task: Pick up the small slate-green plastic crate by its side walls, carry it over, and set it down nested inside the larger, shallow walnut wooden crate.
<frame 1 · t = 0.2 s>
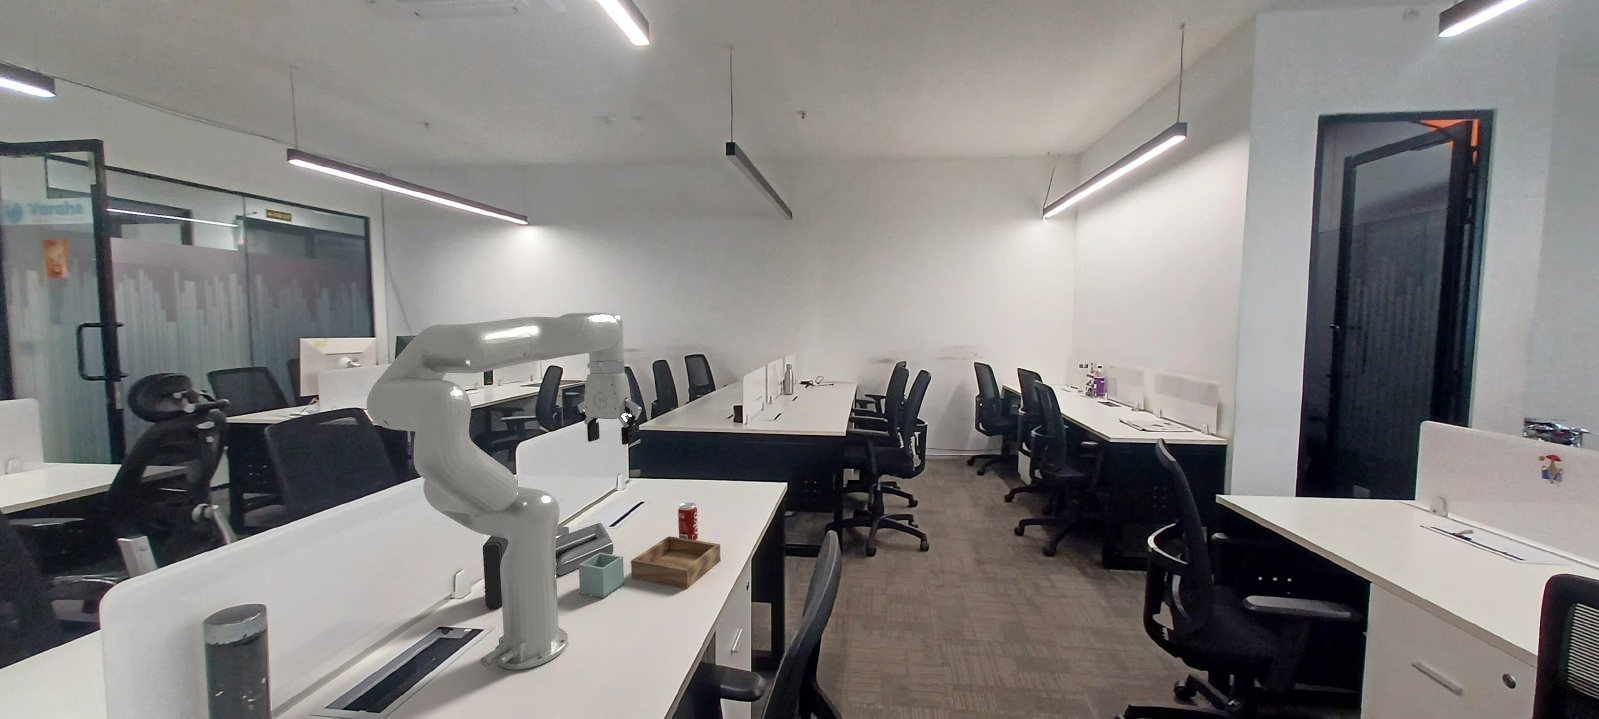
hand: (610, 441, 125), 36 cm above the table, tool pointing down, fingers open, 9 cm apart
walnut crate: (677, 569, 139), on the table
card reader: (499, 600, 124), on the table
emblem: (562, 556, 149), on the table
soda can: (688, 547, 153), on the table
small crate: (602, 589, 129), on the table
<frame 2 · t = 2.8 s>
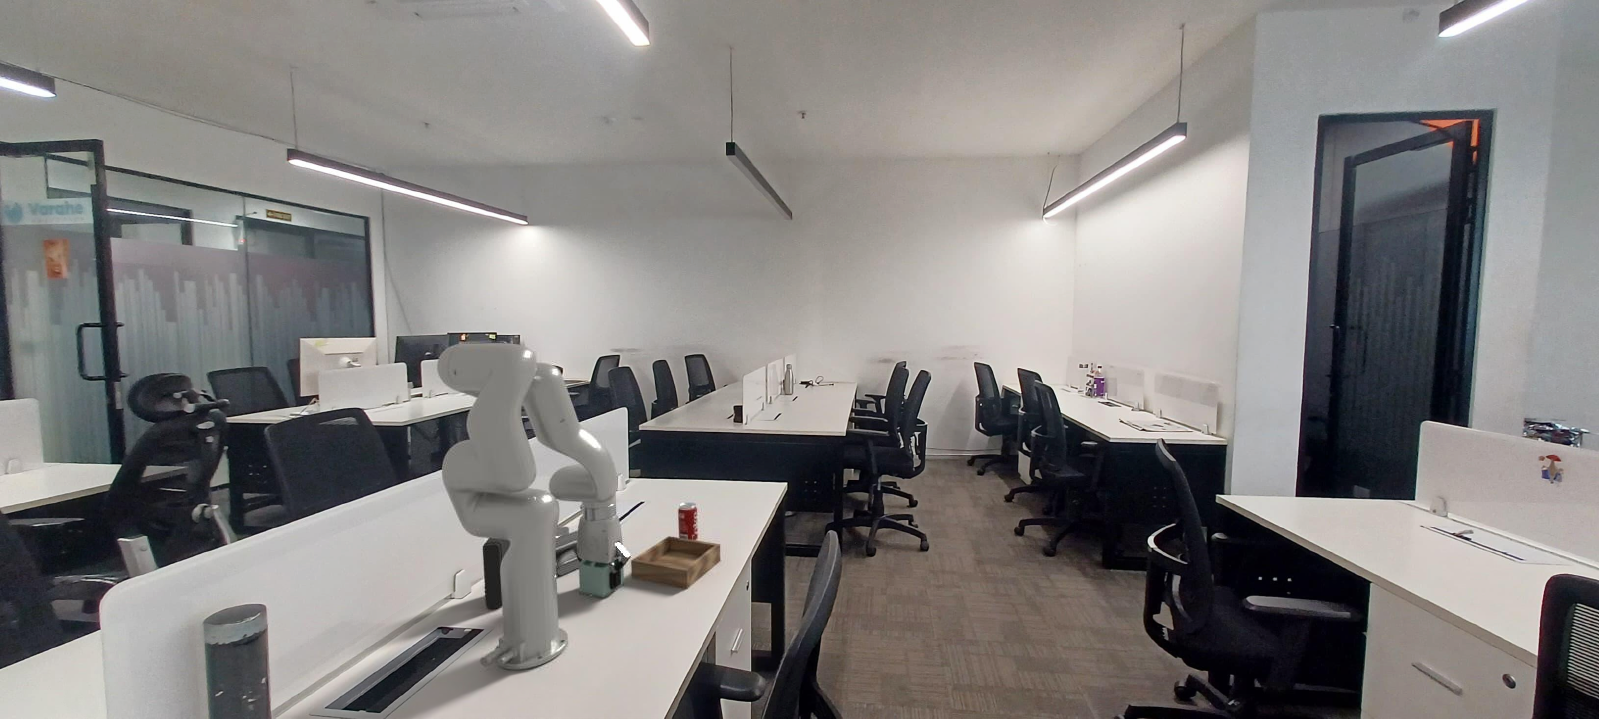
hand: (602, 583, 129), 1 cm above the table, tool pointing down, fingers closed on small crate, 7 cm apart
small crate: (602, 589, 129), on the table, touching gripper
everything else where it was.
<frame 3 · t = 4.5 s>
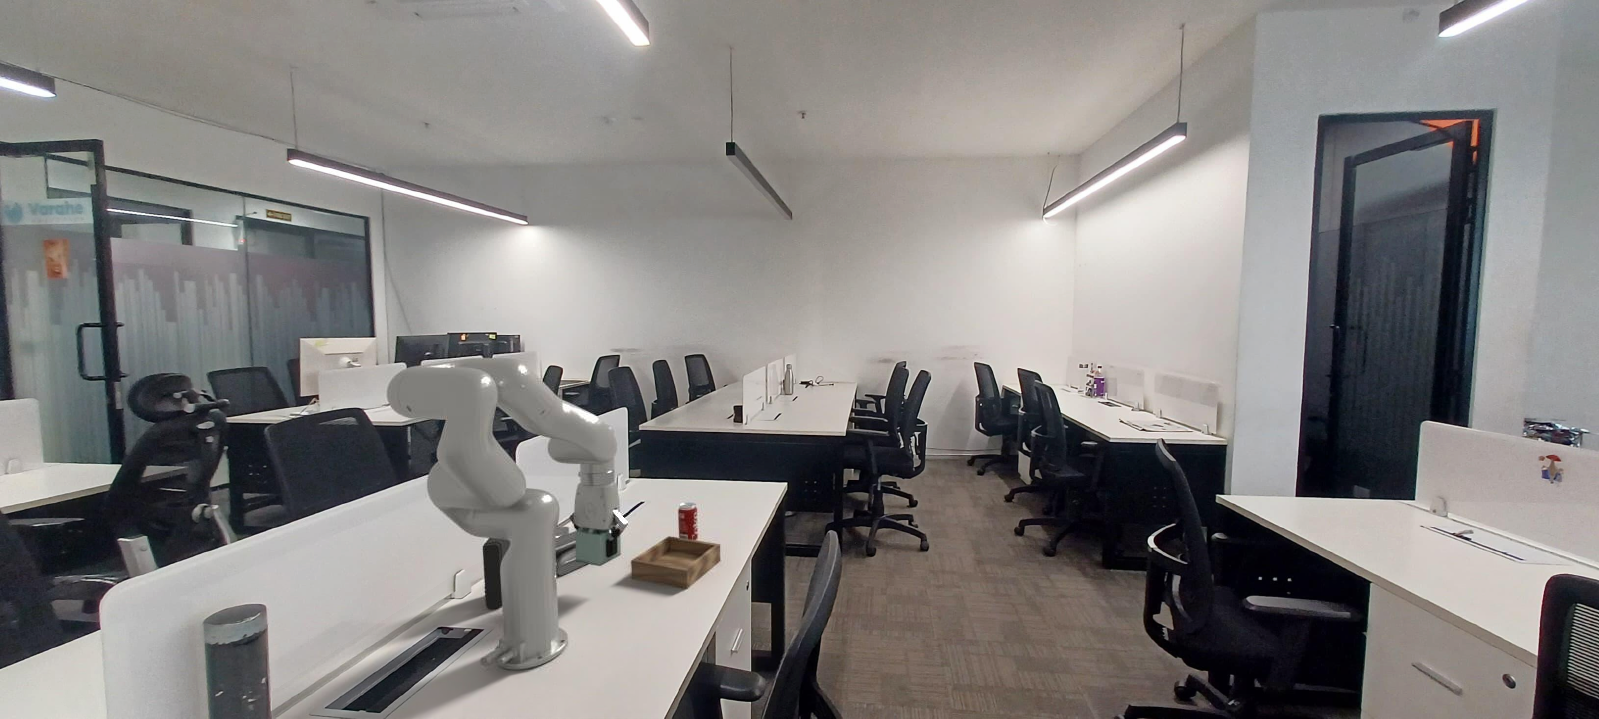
hand: (598, 552, 127), 9 cm above the table, tool pointing down, fingers closed on small crate, 7 cm apart
small crate: (598, 558, 127), point 8 cm above the table, touching gripper
everything else where it was.
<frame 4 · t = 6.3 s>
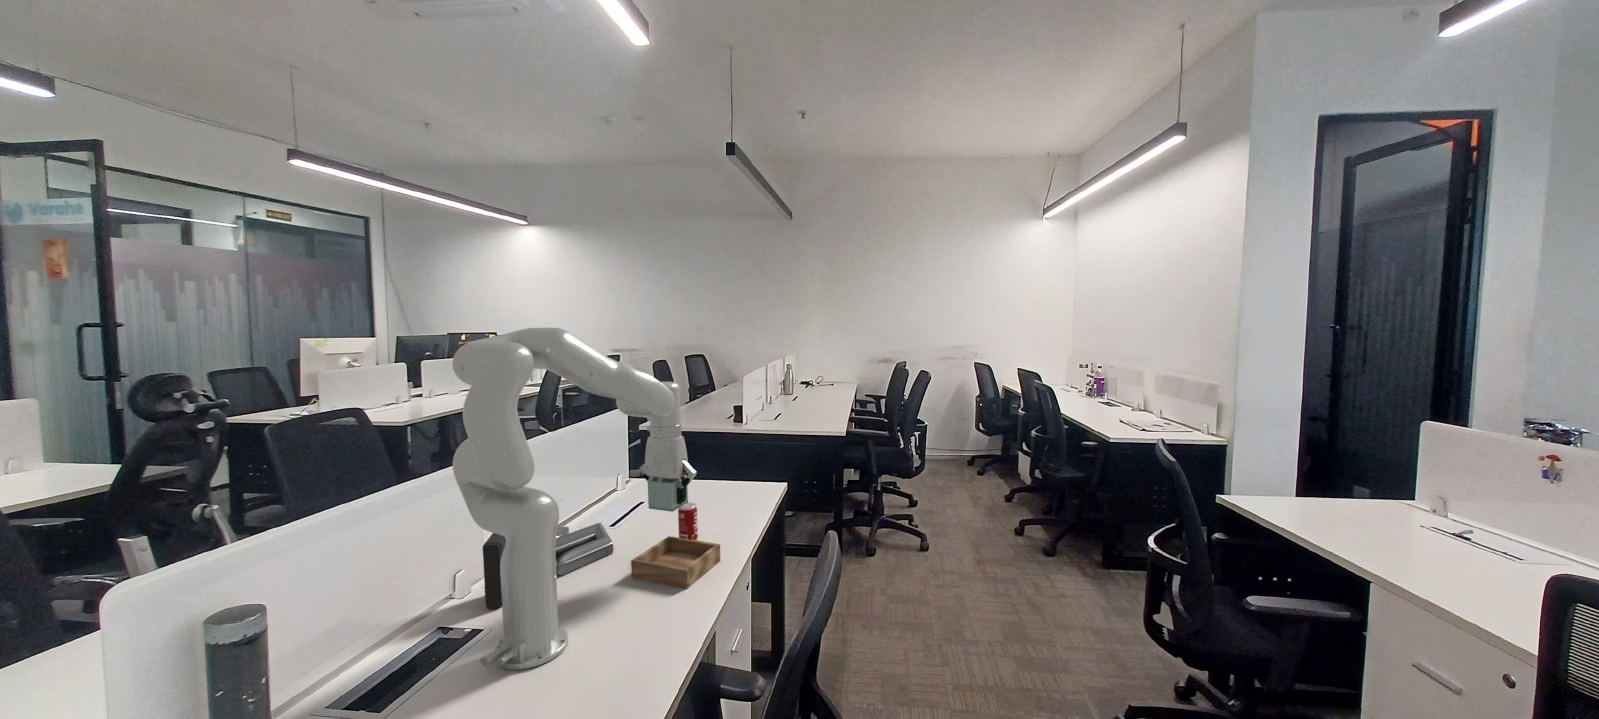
hand: (668, 500, 137), 18 cm above the table, tool pointing down, fingers closed on small crate, 7 cm apart
small crate: (668, 505, 137), point 17 cm above the table, touching gripper
everything else where it was.
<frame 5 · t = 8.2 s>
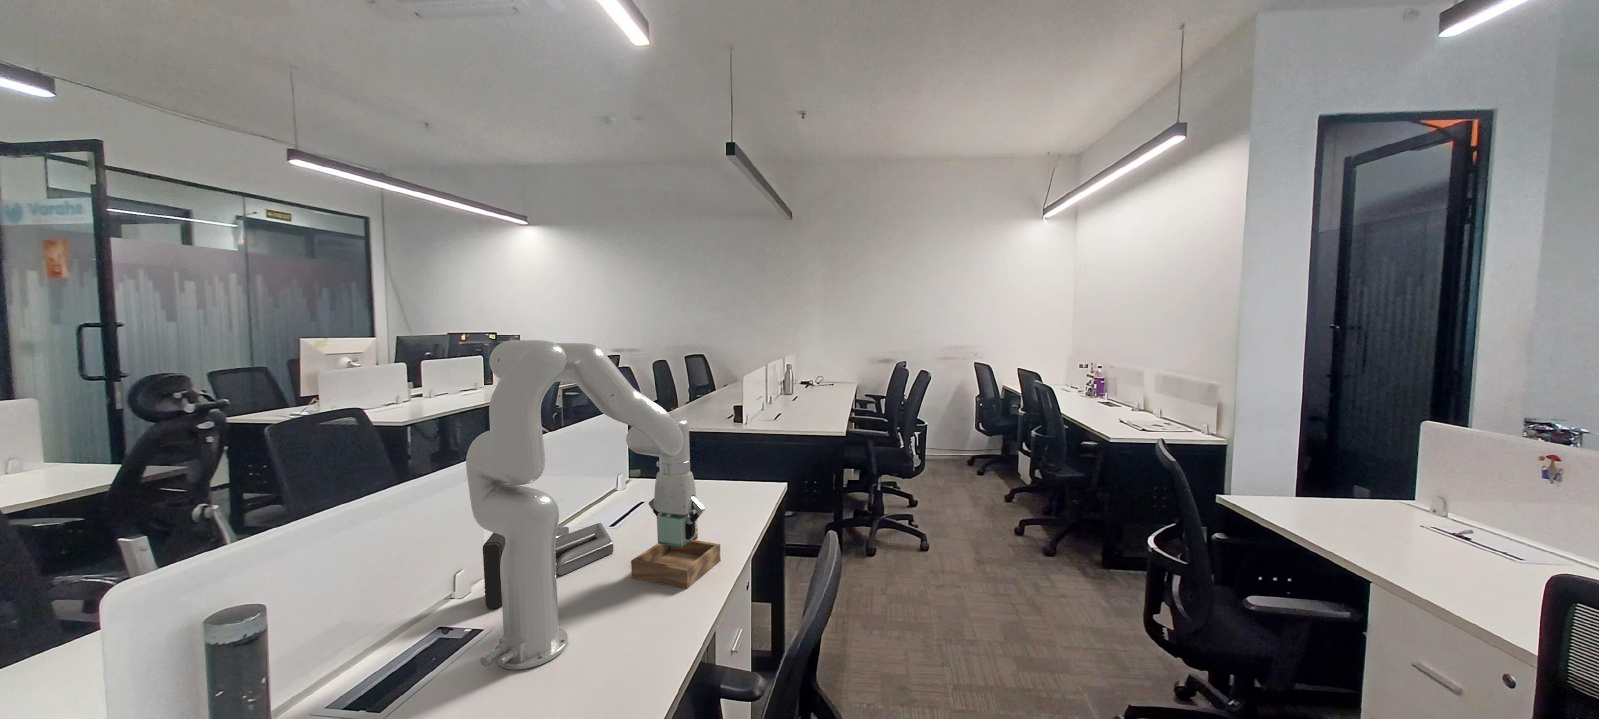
hand: (677, 535, 138), 9 cm above the table, tool pointing down, fingers closed on small crate, 7 cm apart
small crate: (677, 539, 139), point 8 cm above the table, touching gripper
everything else where it was.
when the fingers open (4 cm above the table, at t = 9.7 s): small crate drops 2 cm, resting on walnut crate.
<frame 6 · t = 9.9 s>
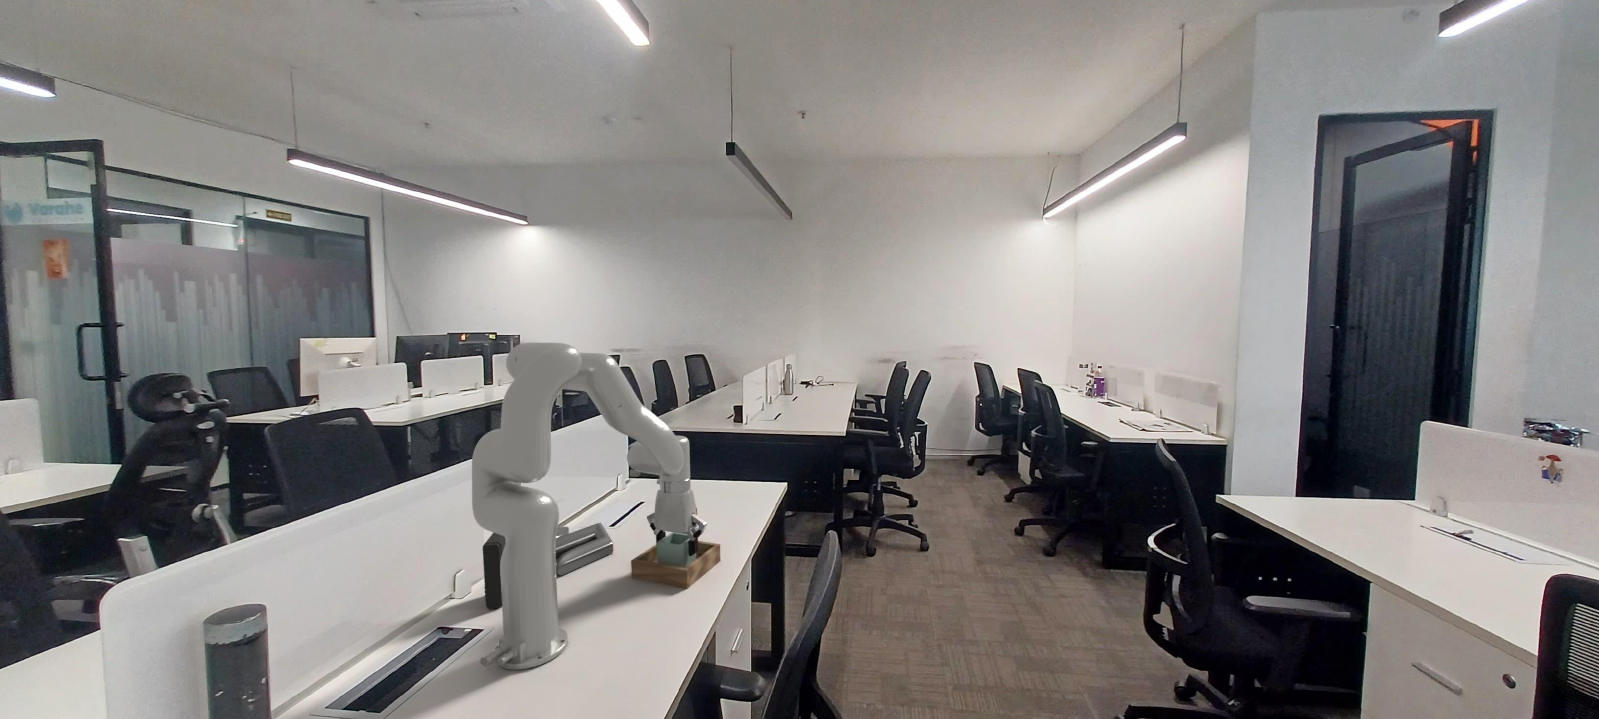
hand: (677, 551, 138), 5 cm above the table, tool pointing down, fingers open, 9 cm apart
small crate: (677, 565, 139), point 1 cm above the table, touching walnut crate
everything else where it was.
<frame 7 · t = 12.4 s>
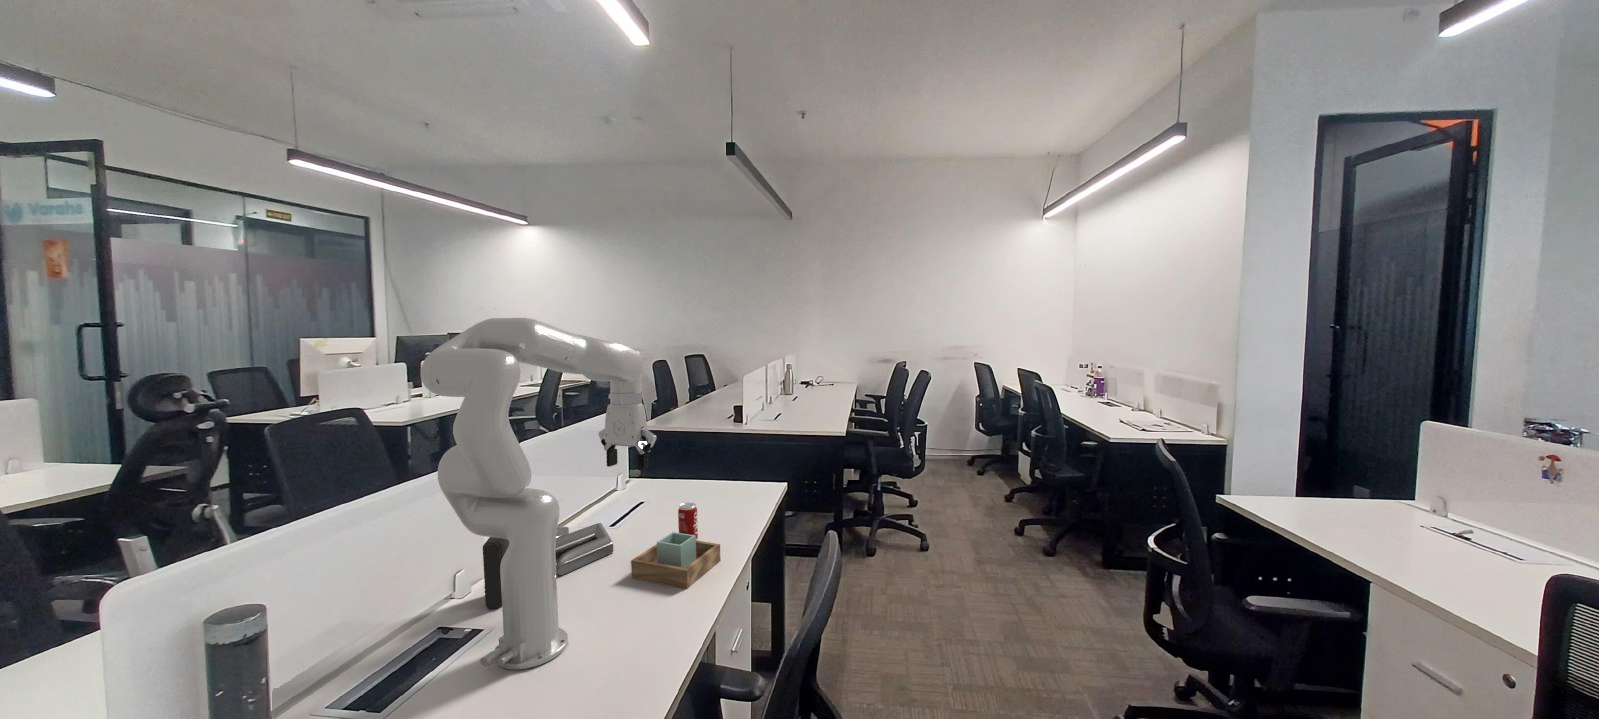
hand: (627, 467, 136), 27 cm above the table, tool pointing down, fingers open, 9 cm apart
nothing on the table moved.
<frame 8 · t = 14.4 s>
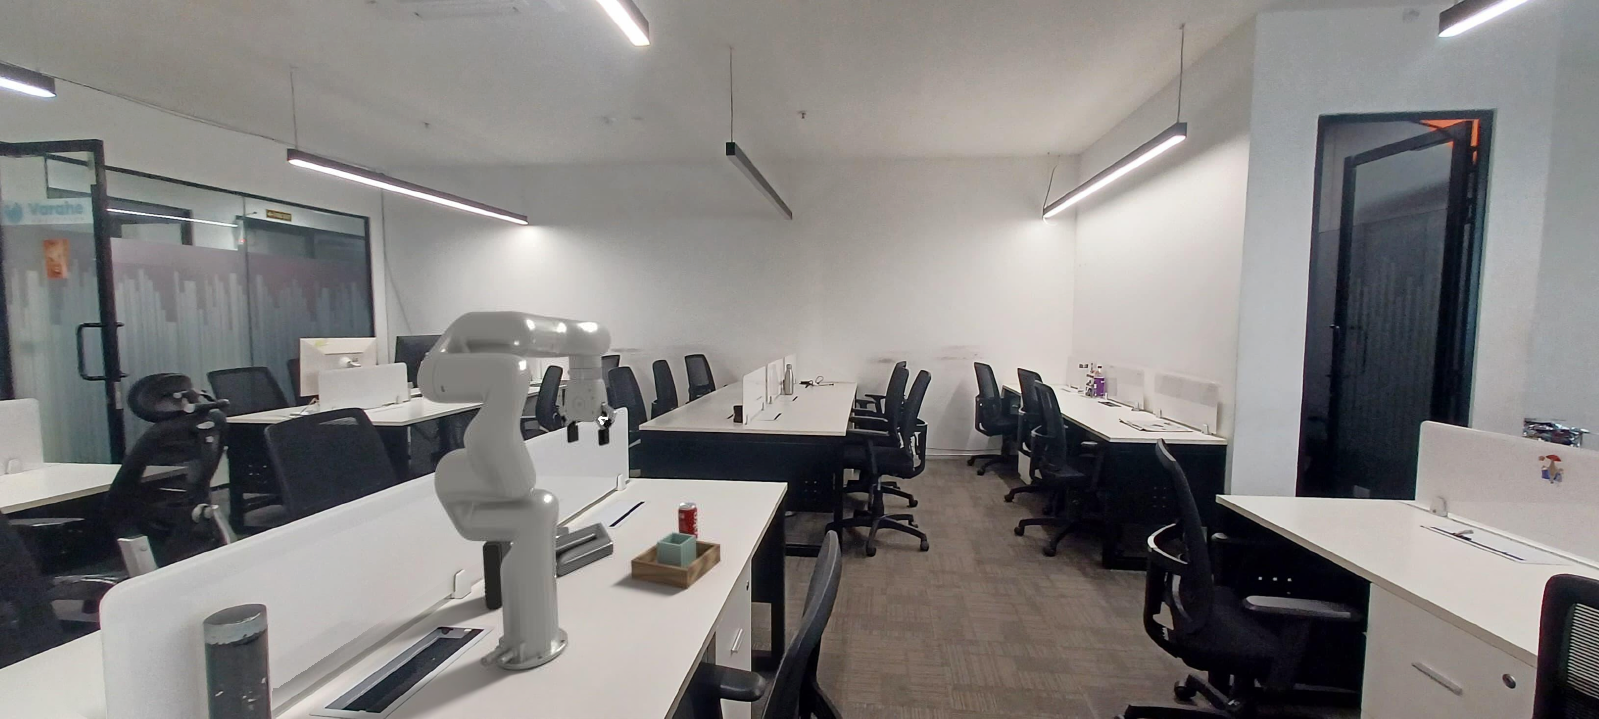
hand: (588, 443, 135), 33 cm above the table, tool pointing down, fingers open, 9 cm apart
nothing on the table moved.
at the end: small crate inside the target area on the walnut crate (0.1 cm from its centre), point 1.0 cm above the walnut crate's base; small crate tilted 0°; the gripper is holding nothing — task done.
